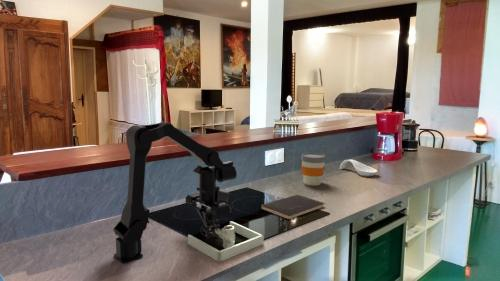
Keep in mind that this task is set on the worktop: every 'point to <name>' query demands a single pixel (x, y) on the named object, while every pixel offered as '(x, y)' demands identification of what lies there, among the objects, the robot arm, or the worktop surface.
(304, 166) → the reusable coffee cup
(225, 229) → the valve
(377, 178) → the worktop surface
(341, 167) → the spoon rest
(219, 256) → the u-shaped bracket
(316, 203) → the hardcover book
